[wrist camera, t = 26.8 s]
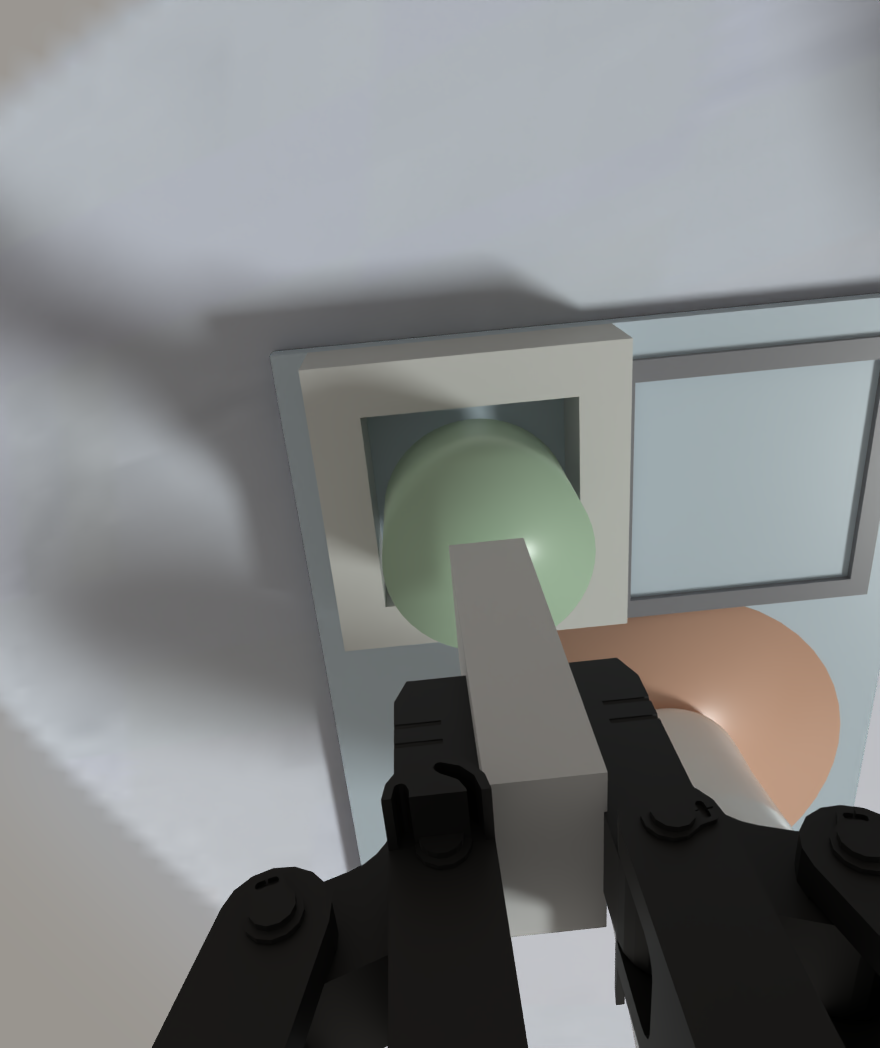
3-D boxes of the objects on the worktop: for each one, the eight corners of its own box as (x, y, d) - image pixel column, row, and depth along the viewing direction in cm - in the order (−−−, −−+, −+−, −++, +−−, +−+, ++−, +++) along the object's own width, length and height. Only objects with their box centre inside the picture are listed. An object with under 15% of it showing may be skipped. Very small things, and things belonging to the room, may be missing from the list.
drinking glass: (527, 812, 27) (662, 1470, 13) (604, 659, 24) (870, 1285, 11) (697, 849, 28) (978, 1485, 15) (788, 707, 25) (1236, 1322, 12)
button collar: (612, 323, 20) (632, 338, 18) (609, 588, 23) (626, 623, 21) (307, 352, 20) (298, 370, 18) (348, 614, 23) (344, 651, 21)
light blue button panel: (936, 287, 21) (956, 291, 20) (831, 869, 30) (842, 885, 29) (273, 351, 20) (268, 357, 20) (373, 915, 30) (372, 934, 29)
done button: (567, 409, 19) (595, 449, 16) (570, 579, 21) (595, 640, 18) (373, 428, 19) (369, 471, 16) (395, 596, 21) (394, 660, 18)
